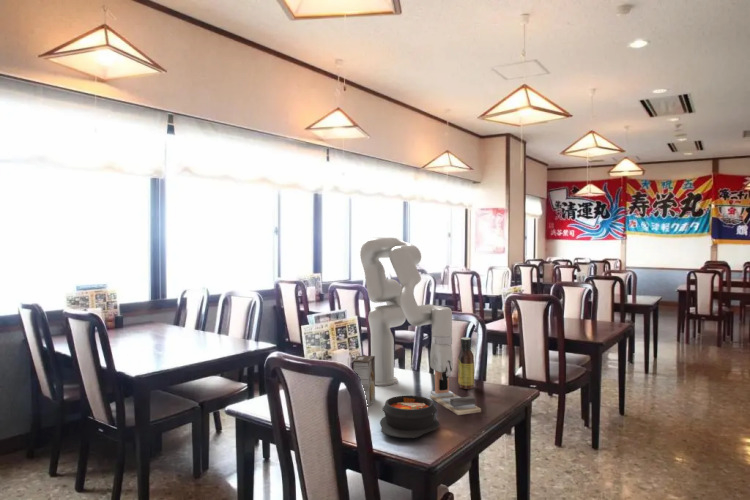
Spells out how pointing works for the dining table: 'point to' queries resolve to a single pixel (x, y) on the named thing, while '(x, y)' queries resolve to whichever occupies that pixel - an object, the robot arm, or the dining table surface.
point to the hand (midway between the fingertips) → (442, 388)
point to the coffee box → (366, 375)
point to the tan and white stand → (438, 392)
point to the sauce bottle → (466, 365)
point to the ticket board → (459, 412)
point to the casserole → (408, 416)
